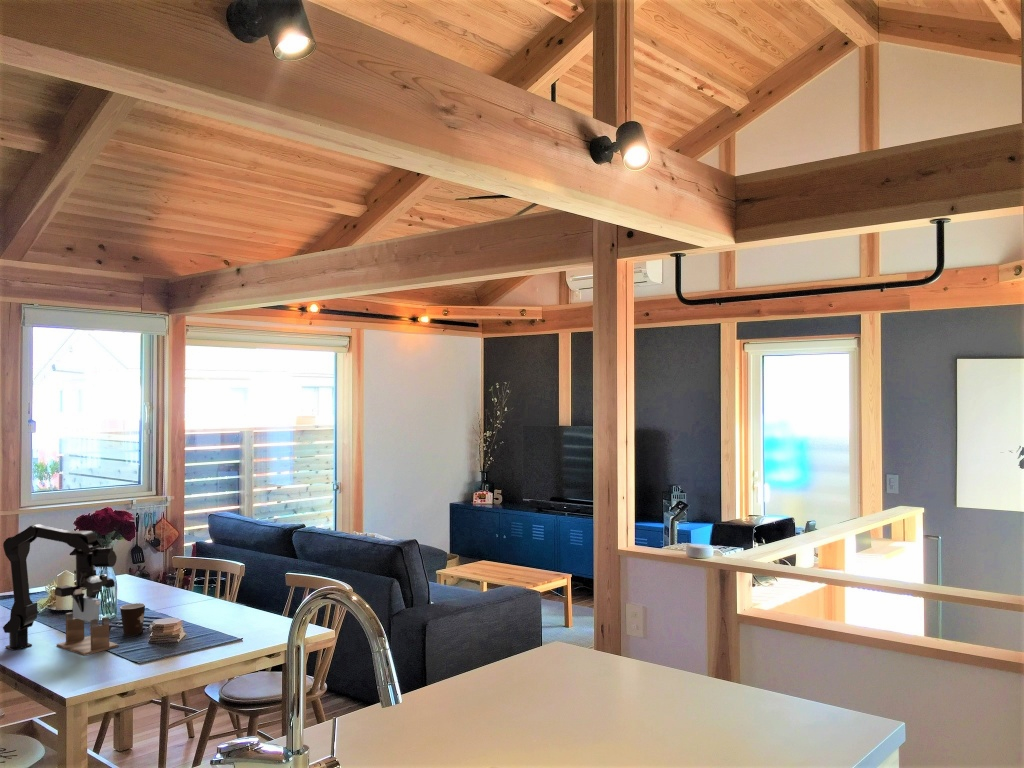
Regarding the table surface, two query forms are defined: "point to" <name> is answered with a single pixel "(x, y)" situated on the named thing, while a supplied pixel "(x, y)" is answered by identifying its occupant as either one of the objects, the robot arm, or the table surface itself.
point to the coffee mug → (132, 618)
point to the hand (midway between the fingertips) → (85, 611)
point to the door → (87, 609)
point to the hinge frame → (89, 643)
